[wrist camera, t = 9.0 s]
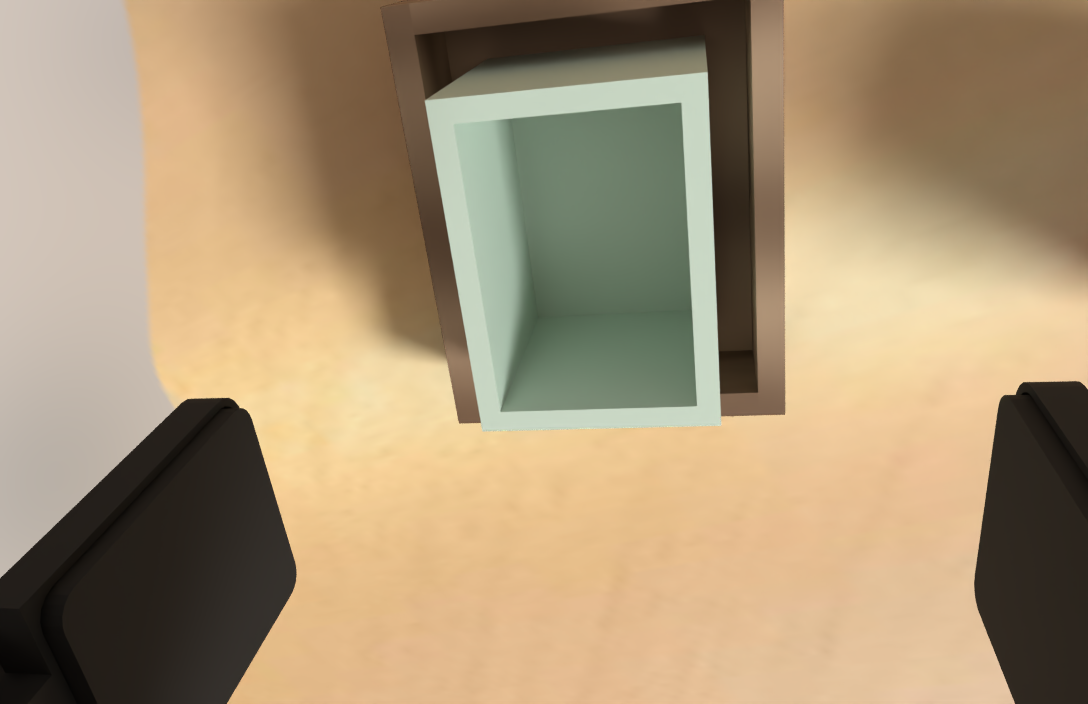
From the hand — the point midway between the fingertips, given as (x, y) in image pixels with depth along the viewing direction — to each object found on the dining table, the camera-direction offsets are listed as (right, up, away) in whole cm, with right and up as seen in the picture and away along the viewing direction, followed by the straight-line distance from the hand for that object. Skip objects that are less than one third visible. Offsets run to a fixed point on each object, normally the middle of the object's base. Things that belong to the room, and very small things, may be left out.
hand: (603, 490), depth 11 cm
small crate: (+1, +7, +17) cm, 18 cm away
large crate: (+1, +7, +18) cm, 19 cm away
